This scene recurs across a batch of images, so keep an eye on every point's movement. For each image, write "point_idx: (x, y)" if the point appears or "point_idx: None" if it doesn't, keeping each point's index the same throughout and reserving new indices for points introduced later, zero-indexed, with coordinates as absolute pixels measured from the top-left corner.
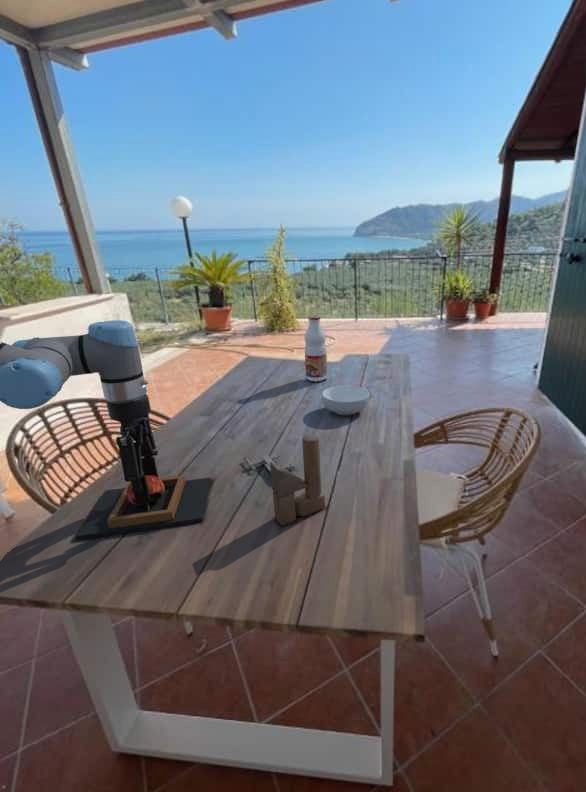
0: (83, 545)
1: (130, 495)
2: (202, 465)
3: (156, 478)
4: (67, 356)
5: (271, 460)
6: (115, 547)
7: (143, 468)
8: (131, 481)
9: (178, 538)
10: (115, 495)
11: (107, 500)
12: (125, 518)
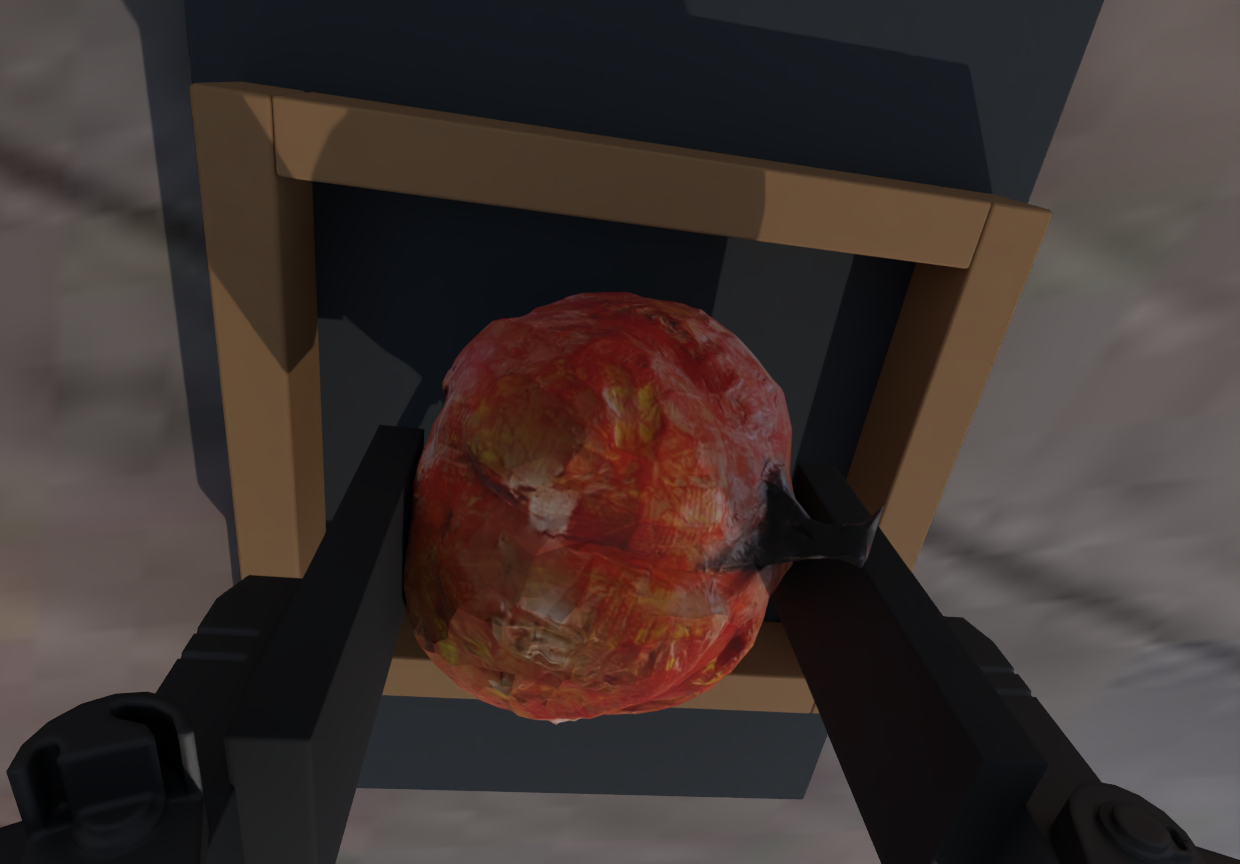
0: None
1: (450, 402)
2: (1062, 710)
3: (652, 700)
4: None
5: None
6: (9, 184)
7: (885, 631)
8: (263, 674)
9: (99, 644)
10: (945, 26)
11: None
12: (214, 304)
